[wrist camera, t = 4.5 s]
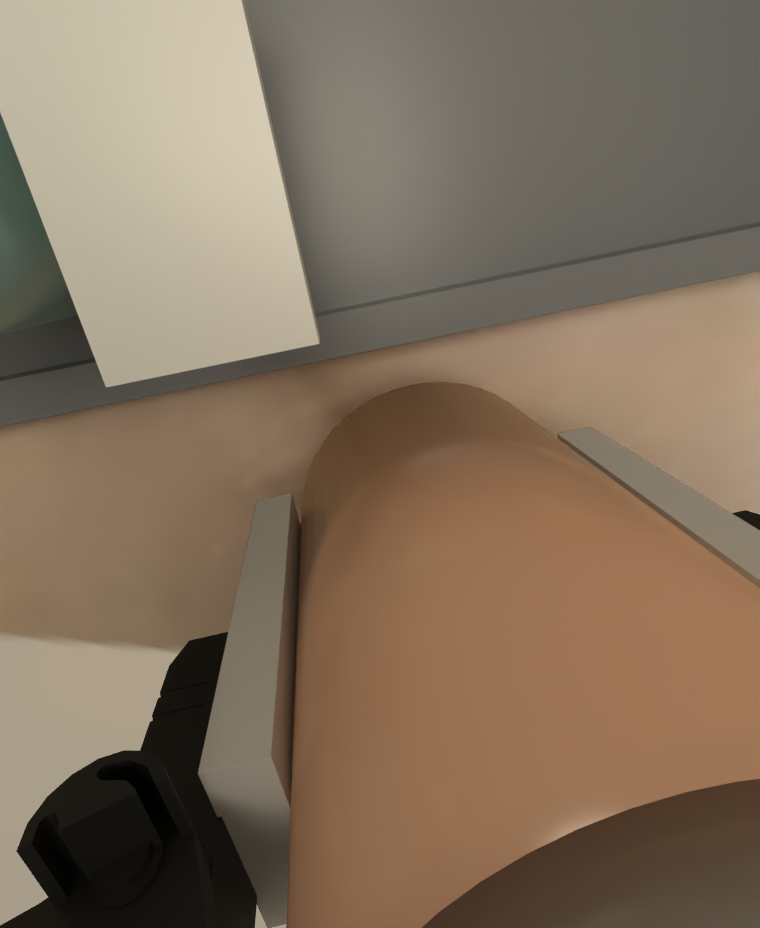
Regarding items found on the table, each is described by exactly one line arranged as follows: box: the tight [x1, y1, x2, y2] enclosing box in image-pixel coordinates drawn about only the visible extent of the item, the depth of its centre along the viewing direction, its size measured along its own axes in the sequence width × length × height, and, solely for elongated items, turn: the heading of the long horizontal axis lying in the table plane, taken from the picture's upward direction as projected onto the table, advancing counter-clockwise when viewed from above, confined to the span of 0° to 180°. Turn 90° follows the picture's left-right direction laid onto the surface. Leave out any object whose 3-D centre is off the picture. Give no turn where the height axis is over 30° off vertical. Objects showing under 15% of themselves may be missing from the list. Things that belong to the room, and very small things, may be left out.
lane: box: [0, 0, 760, 427], centre depth 9 cm, size 24×10×7 cm, turn 101°
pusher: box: [0, 0, 320, 387], centre depth 8 cm, size 2×7×8 cm, turn 11°
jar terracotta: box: [286, 382, 760, 928], centre depth 8 cm, size 6×6×10 cm
